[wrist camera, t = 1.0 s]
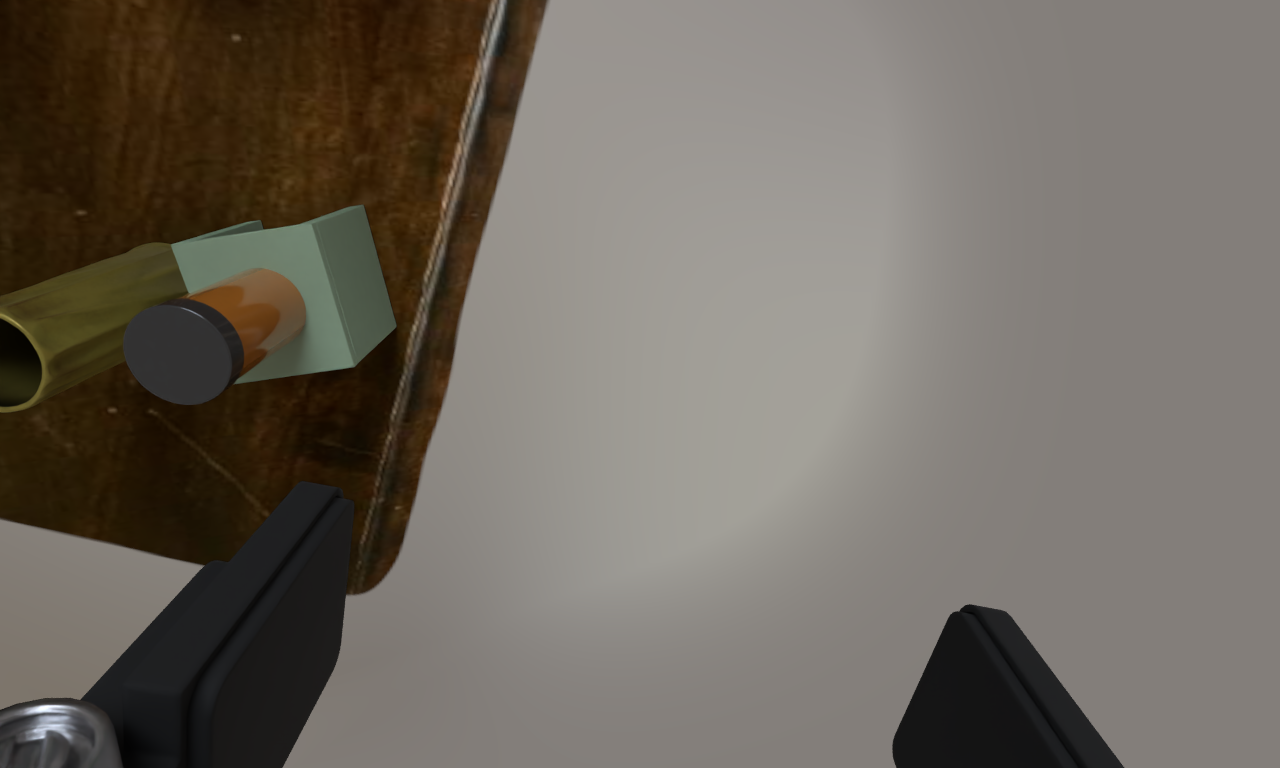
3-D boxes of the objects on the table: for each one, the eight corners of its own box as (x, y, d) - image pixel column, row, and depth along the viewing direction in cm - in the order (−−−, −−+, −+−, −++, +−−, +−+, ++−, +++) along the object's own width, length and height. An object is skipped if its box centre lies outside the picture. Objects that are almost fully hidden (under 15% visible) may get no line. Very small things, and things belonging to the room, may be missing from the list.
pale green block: (245, 222, 46) (170, 244, 38) (364, 204, 45) (311, 223, 38) (285, 342, 48) (222, 385, 41) (397, 326, 48) (354, 367, 41)
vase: (221, 256, 46) (57, 316, 33) (215, 345, 48) (58, 435, 35) (122, 230, 46) (-88, 281, 32) (120, 321, 48) (-78, 405, 34)
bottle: (209, 272, 39) (105, 313, 31) (293, 259, 38) (209, 297, 31) (238, 353, 40) (146, 411, 33) (319, 342, 40) (245, 397, 32)
